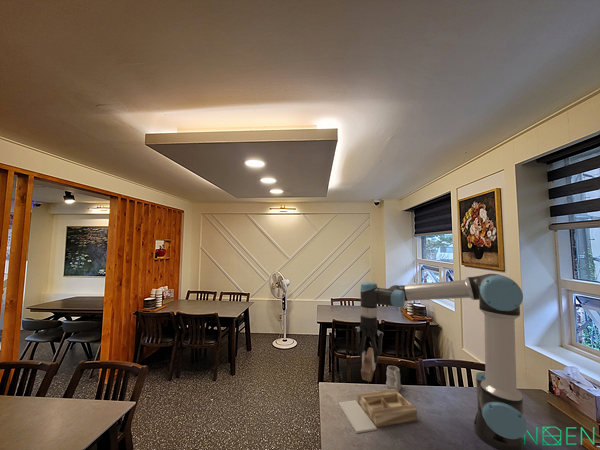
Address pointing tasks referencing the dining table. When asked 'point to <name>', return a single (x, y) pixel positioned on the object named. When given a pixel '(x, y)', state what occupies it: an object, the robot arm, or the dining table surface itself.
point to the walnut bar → (368, 366)
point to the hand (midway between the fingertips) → (368, 368)
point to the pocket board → (387, 407)
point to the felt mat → (357, 416)
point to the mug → (393, 378)
